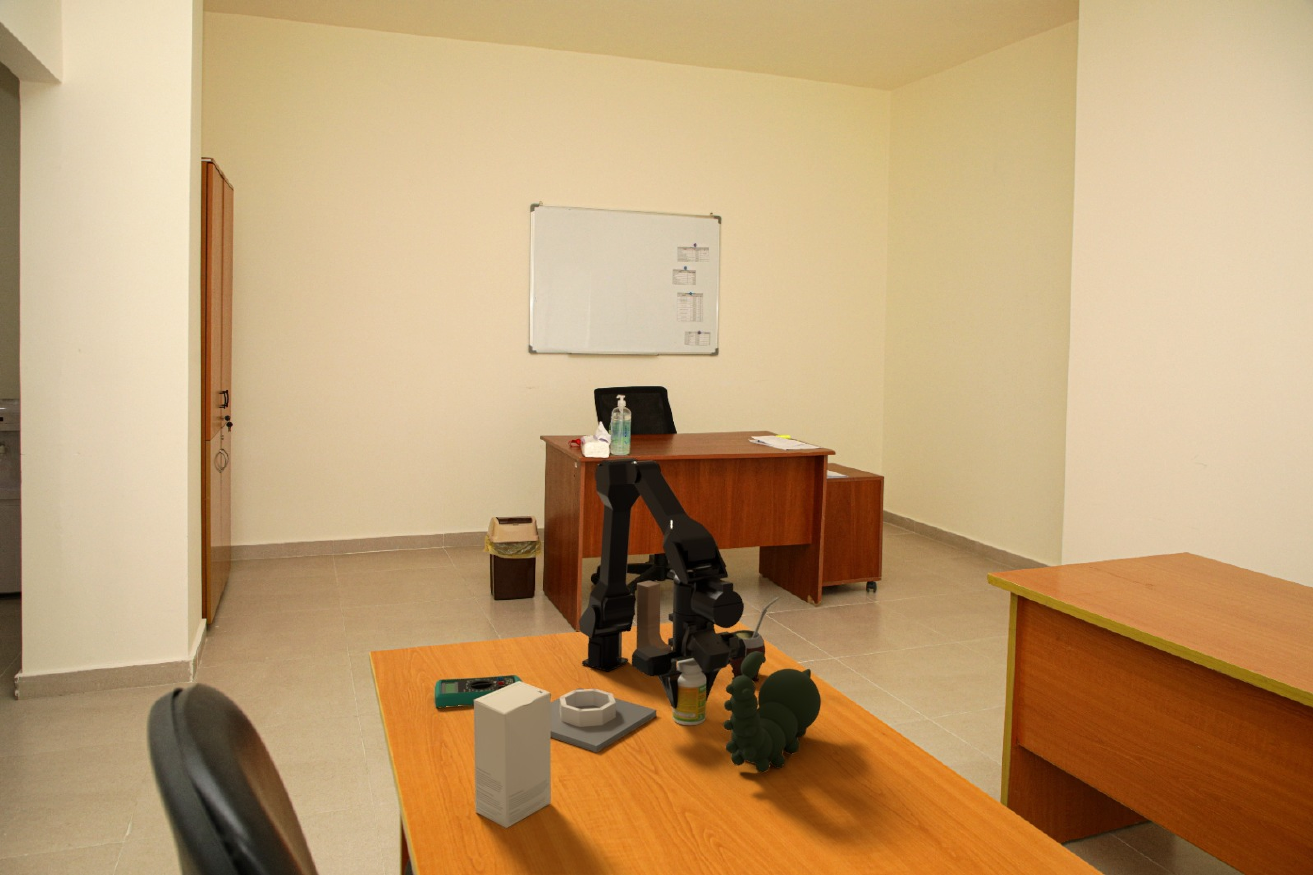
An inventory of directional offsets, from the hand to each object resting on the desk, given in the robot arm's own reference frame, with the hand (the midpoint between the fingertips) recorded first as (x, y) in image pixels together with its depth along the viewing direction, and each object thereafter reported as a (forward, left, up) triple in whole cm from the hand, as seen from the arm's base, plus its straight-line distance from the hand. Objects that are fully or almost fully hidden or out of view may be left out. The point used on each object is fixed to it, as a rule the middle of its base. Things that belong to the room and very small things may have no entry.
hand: (689, 704), depth 147 cm
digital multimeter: (+13, -34, -3) cm, 37 cm away
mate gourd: (-22, -1, -3) cm, 22 cm away
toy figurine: (+3, +17, -3) cm, 17 cm away
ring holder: (+10, -13, -2) cm, 17 cm away
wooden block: (-18, -19, -3) cm, 26 cm away
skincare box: (+37, -4, -3) cm, 37 cm away
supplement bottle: (0, 0, -3) cm, 3 cm away
